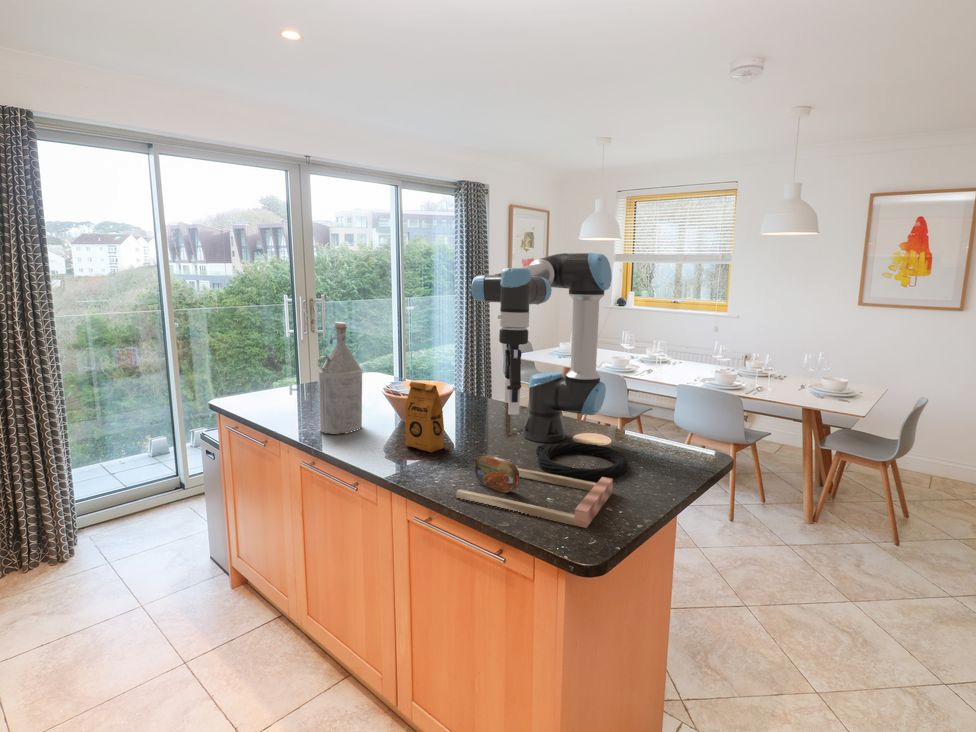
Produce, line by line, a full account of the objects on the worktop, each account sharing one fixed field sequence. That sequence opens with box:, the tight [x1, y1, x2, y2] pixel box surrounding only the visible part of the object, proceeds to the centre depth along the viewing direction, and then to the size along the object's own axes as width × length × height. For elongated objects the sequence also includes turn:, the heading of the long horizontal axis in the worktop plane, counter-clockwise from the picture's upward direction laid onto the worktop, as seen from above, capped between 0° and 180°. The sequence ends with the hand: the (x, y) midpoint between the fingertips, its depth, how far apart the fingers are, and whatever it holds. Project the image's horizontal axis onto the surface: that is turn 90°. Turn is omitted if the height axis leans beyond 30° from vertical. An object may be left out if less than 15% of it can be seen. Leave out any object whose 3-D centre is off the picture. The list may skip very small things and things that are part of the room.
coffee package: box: [404, 380, 445, 453], centre depth 183 cm, size 10×12×22 cm
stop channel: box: [456, 467, 614, 529], centre depth 147 cm, size 24×35×4 cm
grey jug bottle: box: [317, 321, 363, 435], centre depth 201 cm, size 13×17×40 cm
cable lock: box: [535, 442, 629, 482], centre depth 172 cm, size 28×4×30 cm
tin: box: [474, 454, 520, 494], centre depth 152 cm, size 15×3×8 cm, turn 45°
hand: (511, 408), depth 147 cm, fingers open, 13 cm apart
